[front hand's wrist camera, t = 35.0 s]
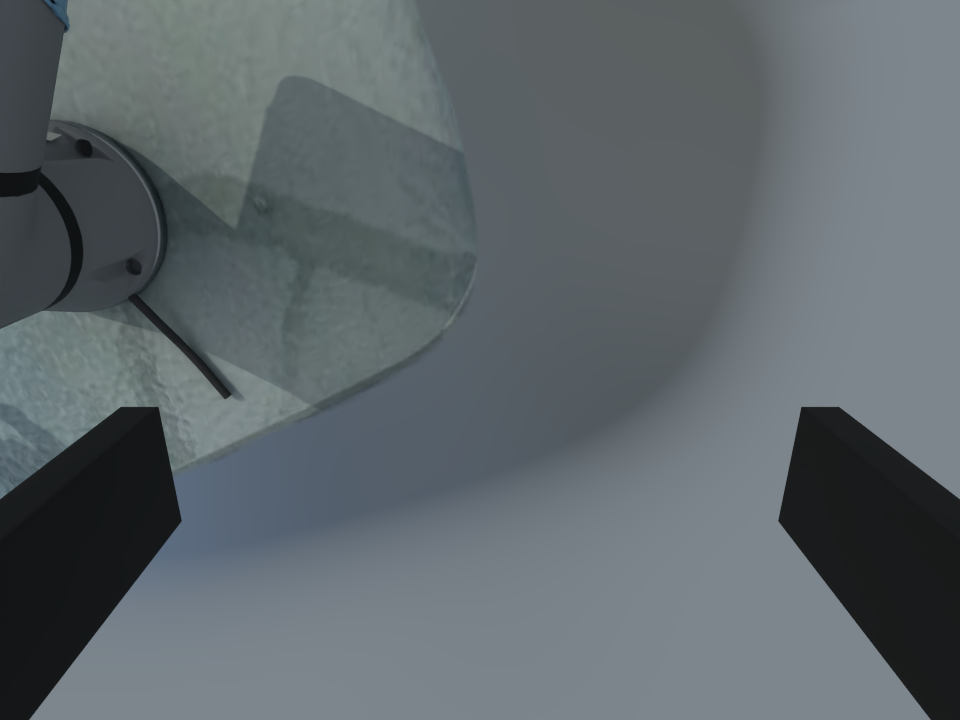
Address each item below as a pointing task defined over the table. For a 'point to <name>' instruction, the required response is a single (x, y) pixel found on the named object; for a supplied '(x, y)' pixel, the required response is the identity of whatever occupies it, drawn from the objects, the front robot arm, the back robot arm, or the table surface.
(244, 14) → the table surface
